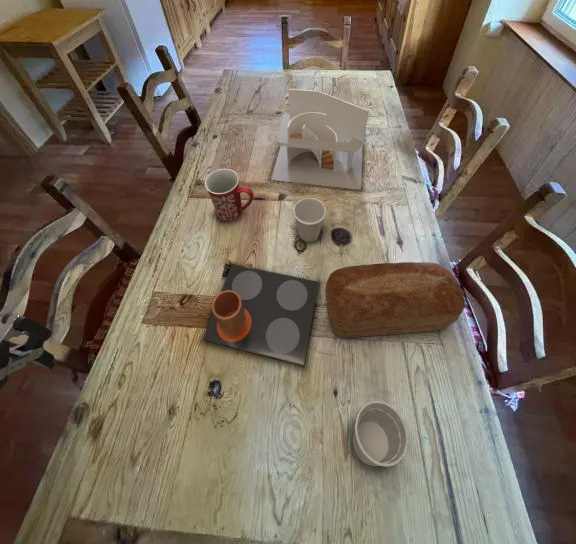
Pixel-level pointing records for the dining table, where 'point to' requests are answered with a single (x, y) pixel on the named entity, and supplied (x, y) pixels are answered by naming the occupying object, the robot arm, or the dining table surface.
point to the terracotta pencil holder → (229, 313)
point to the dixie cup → (309, 218)
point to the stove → (269, 314)
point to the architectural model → (321, 141)
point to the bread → (392, 299)
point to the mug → (227, 194)
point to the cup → (380, 435)
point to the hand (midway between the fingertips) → (22, 403)
